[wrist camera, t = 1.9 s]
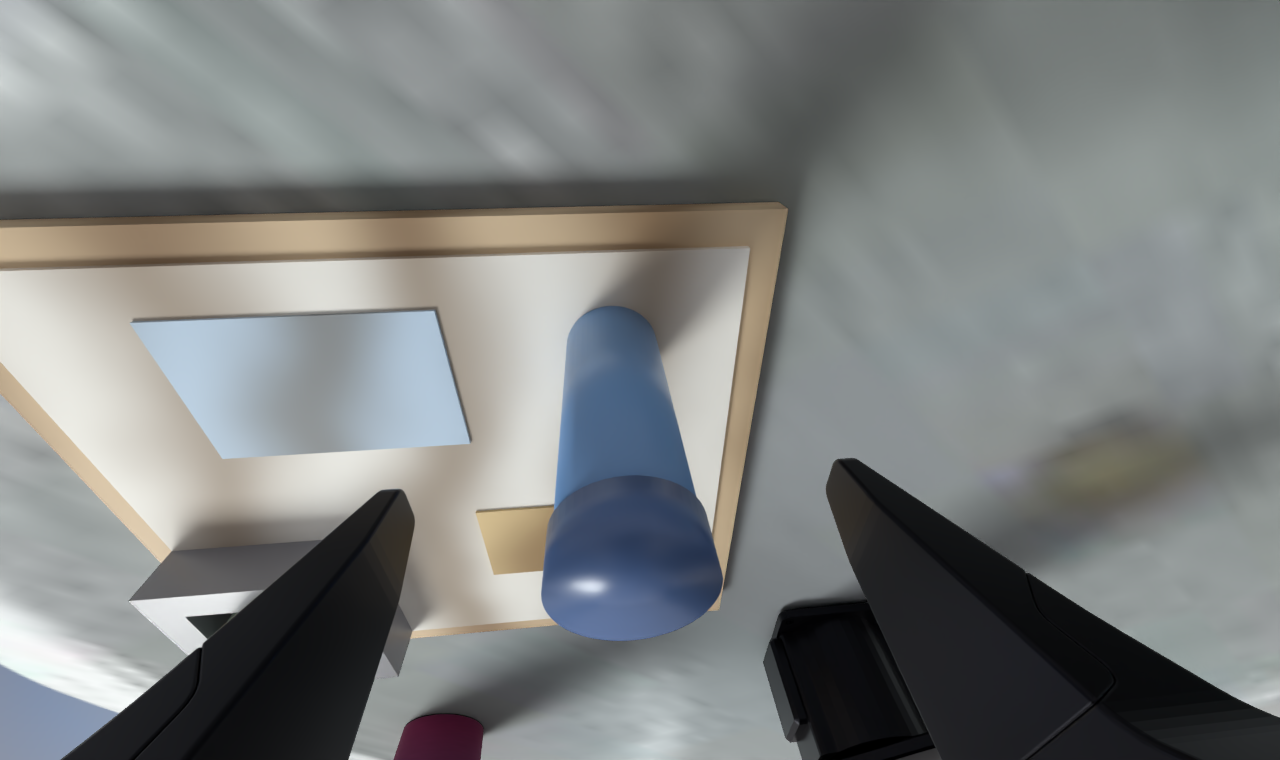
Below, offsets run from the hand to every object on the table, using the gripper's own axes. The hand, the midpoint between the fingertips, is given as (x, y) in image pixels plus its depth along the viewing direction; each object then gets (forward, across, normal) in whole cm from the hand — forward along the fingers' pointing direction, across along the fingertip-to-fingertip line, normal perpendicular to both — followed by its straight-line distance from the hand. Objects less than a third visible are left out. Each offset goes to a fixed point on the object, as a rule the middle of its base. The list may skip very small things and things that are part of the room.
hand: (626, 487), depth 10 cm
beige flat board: (+7, +7, +6) cm, 11 cm away
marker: (+6, 0, 0) cm, 6 cm away
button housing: (+6, +14, +11) cm, 19 cm away
